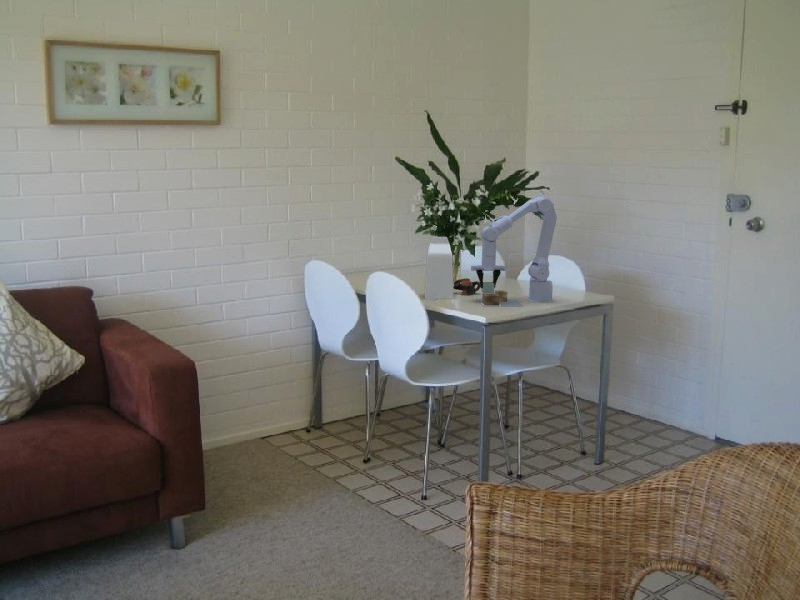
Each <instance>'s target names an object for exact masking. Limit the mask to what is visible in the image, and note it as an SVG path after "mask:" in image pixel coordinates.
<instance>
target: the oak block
mask: <svg viewBox="0 0 800 600" xmlns="http://www.w3.org/2000/svg"><path fill="white" fill-rule="evenodd" d="M494 293H497V294H498V295H499V296H500V297H499V302H507V299H508V291H507V290H504V289H503V290H501V289H500V290H499V289H498V290H495V289H494Z"/></svg>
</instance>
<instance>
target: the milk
mask: <svg viewBox="0 0 800 600" xmlns="http://www.w3.org/2000/svg"><path fill="white" fill-rule="evenodd" d="M425 265H426V267H425V282H424V284H425V285H424V300H439V299H451V300H452V299H454V289H453V287H454V273H453V272H454V271H453V253H452V250H451V244H450V241H449V239H448V237H447V236H433V237H432V238H431V241H430V243H429V246H428V248H427V253H426V264H425Z"/></svg>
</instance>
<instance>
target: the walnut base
mask: <svg viewBox="0 0 800 600" xmlns="http://www.w3.org/2000/svg"><path fill="white" fill-rule="evenodd" d="M481 293H482V297H481V299H482V303H483V304H484V305H485V306H499V297H500V296H499V295H498V294H497V293H495V292H494V293H483V292H481Z"/></svg>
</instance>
